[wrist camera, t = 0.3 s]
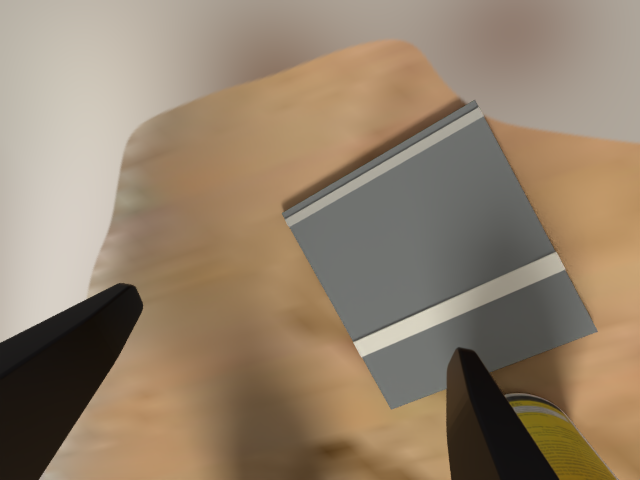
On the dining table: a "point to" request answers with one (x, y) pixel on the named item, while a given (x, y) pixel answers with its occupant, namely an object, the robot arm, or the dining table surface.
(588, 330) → the mat
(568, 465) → the pill bottle
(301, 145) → the dining table surface
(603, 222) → the dining table surface
